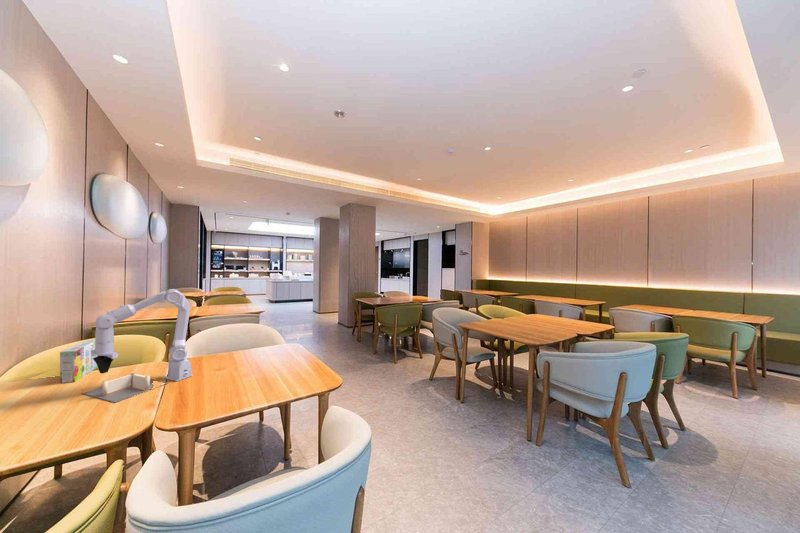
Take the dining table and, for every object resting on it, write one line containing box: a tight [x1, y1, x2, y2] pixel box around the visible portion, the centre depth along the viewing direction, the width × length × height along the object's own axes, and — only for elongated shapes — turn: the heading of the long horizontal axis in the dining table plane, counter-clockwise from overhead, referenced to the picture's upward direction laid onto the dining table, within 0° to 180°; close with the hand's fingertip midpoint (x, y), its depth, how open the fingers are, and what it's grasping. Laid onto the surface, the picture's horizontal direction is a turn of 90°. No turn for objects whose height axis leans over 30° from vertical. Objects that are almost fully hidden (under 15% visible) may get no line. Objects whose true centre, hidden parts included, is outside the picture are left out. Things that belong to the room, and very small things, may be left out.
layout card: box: [81, 378, 169, 404], centre depth 129 cm, size 22×20×1 cm
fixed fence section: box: [132, 373, 151, 391], centre depth 129 cm, size 10×2×6 cm, turn 73°
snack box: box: [59, 338, 98, 384], centre depth 142 cm, size 21×6×15 cm, turn 25°
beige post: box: [101, 372, 135, 395], centre depth 126 cm, size 12×2×5 cm, turn 165°
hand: (103, 372), depth 125 cm, fingers closed
